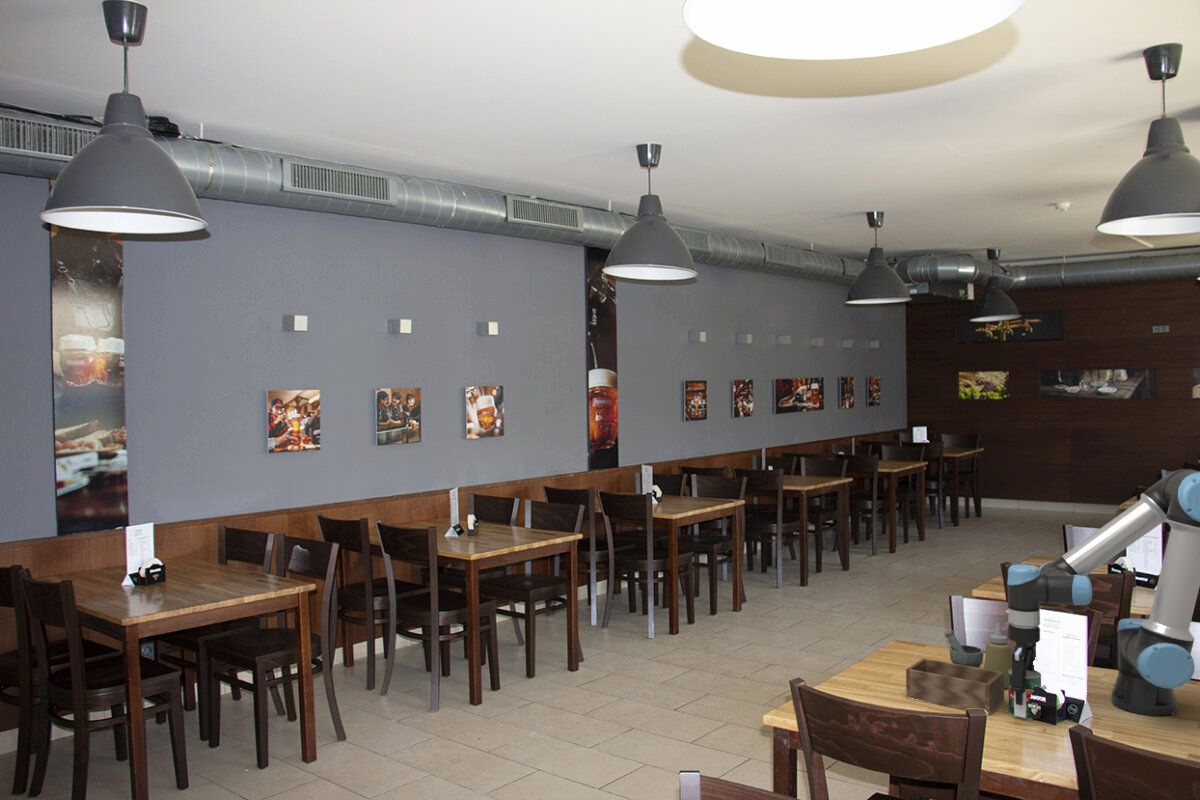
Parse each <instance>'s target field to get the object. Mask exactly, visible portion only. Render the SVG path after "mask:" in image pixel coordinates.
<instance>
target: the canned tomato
mask: <svg viewBox="0 0 1200 800" xmlns="http://www.w3.org/2000/svg"><path fill="white" fill-rule="evenodd" d="M1025 679H1026V682H1025V692H1026V718H1023V717H1018V716H1014V691H1011V690H1010V688H1011V683H1012V669H1009V670H1008V688H1007V691H1008V692H1007V693H1008V714H1009V715H1010V716H1012V717H1014V718H1016V719H1021V720H1026V721H1027V720H1028V721H1034V720H1033V719H1032V716H1031V715H1030V713H1029V707H1028V704H1029V700H1030V697H1031V695H1032V693H1033V692H1034V690H1033V688H1034V687H1041V688H1042V673H1041V672H1039V671H1038V670H1037V671H1035V670H1033V671H1028V670H1027V671H1026V677H1025Z"/></svg>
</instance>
